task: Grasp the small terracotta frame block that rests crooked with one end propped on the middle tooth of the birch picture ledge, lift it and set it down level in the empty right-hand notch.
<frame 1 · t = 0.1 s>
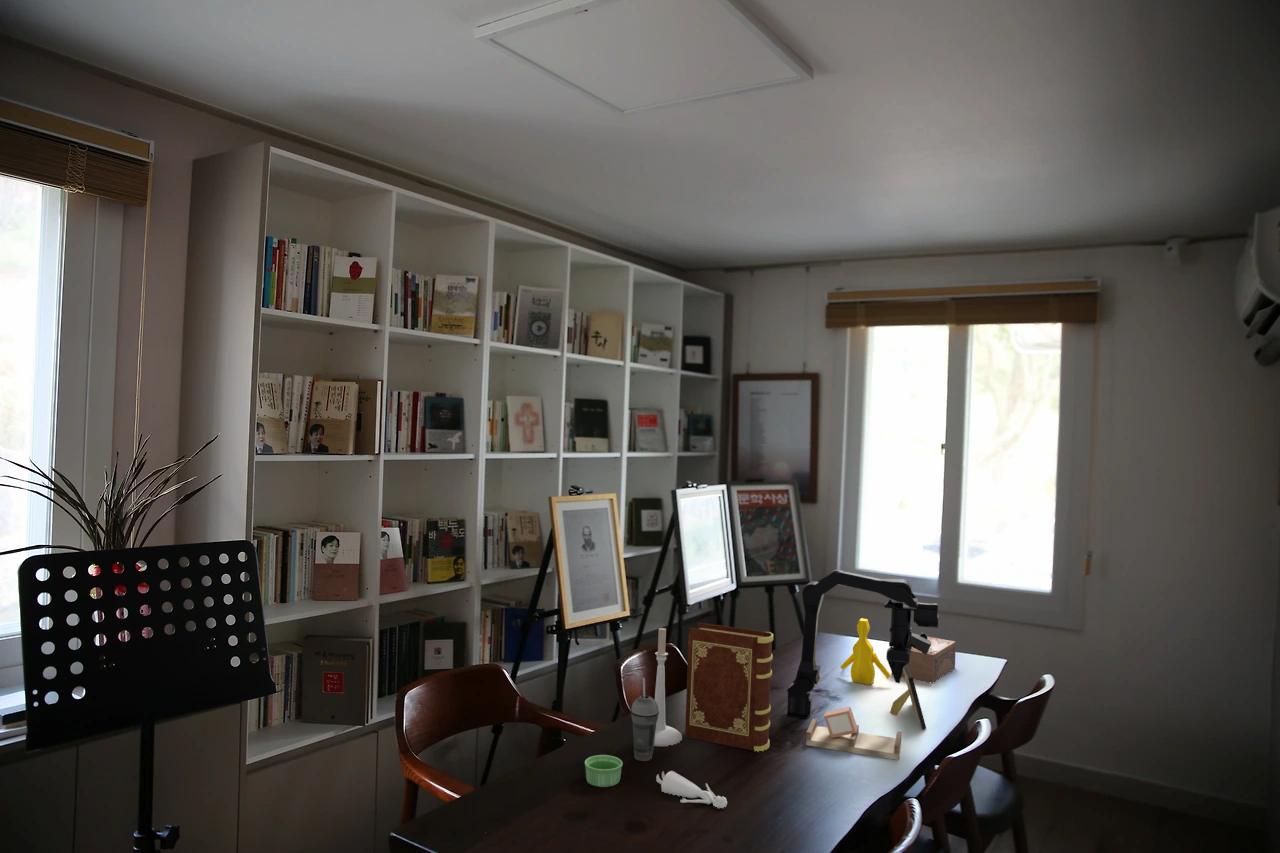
hand: (898, 678, 241), 15 cm above the table, fingers open, 9 cm apart
tissue box cover: (923, 672, 303), on the table
picture frame: (905, 716, 254), on the table
decorative book: (728, 741, 227), on the table
woman figurine: (691, 799, 191), on the table
ledge: (853, 744, 228), on the table
beverage cup: (643, 758, 214), on the table
frame block: (844, 733, 229), point 3 cm above the table, tilted 21°, touching ledge
ramekin: (603, 781, 199), on the table
candlestick: (658, 738, 228), on the table
figure statuette: (863, 683, 286), on the table
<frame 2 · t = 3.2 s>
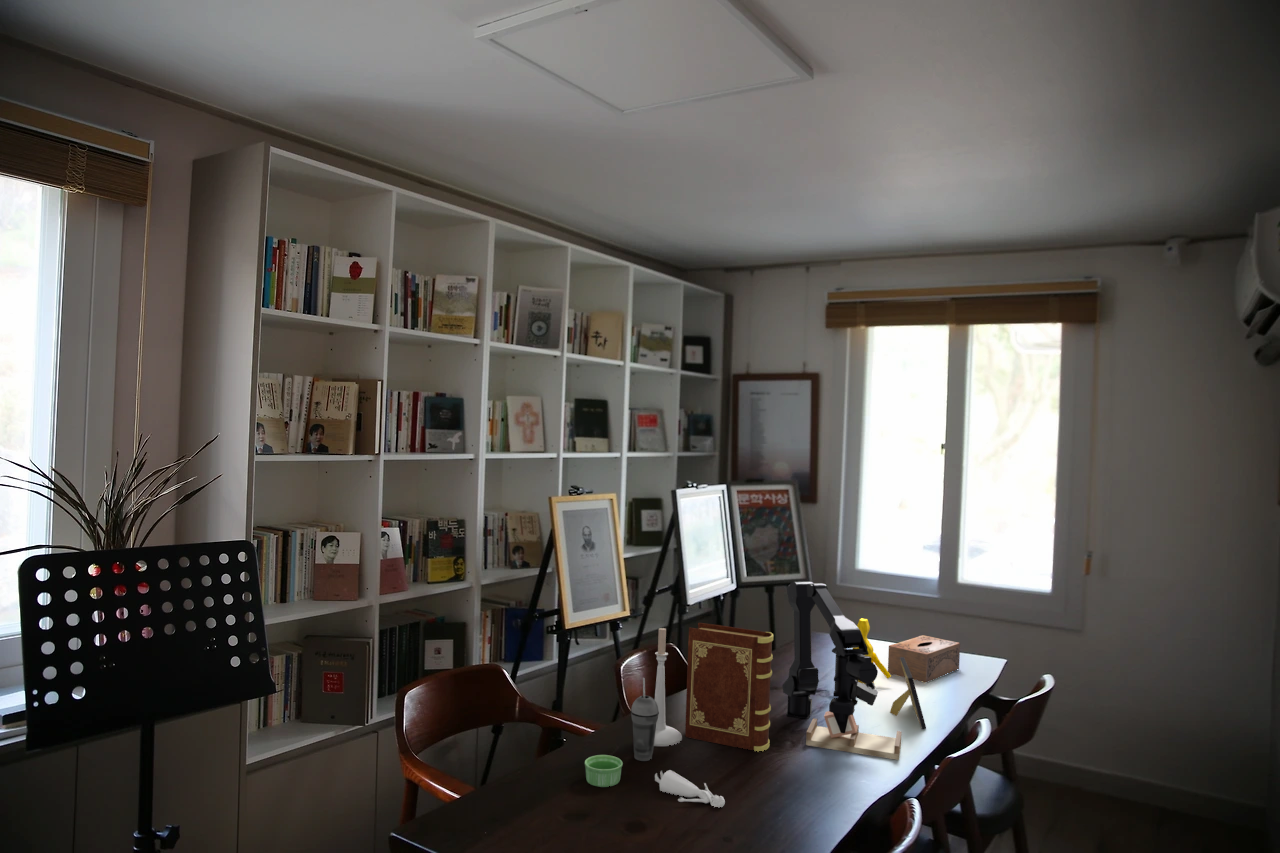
hand: (843, 730, 229), 4 cm above the table, fingers closed on frame block, 4 cm apart
frame block: (844, 733, 229), point 3 cm above the table, tilted 21°, touching gripper, ledge
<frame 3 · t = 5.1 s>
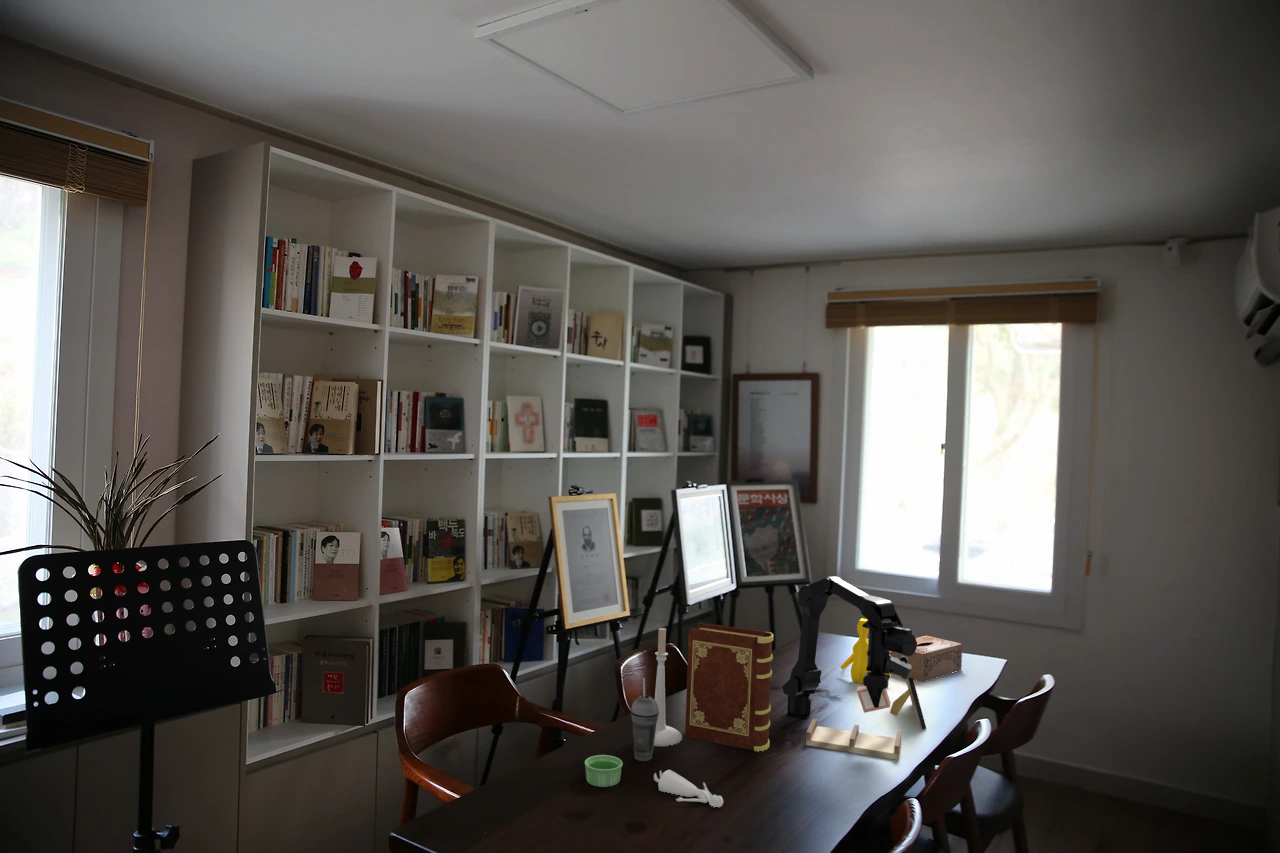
hand: (876, 705, 226), 12 cm above the table, fingers closed on frame block, 4 cm apart
frame block: (877, 707, 226), point 11 cm above the table, tilted 20°, touching gripper
when the fingers open (4 cm above the table, at t = 7.1 s): frame block drops 2 cm, resting on ledge.
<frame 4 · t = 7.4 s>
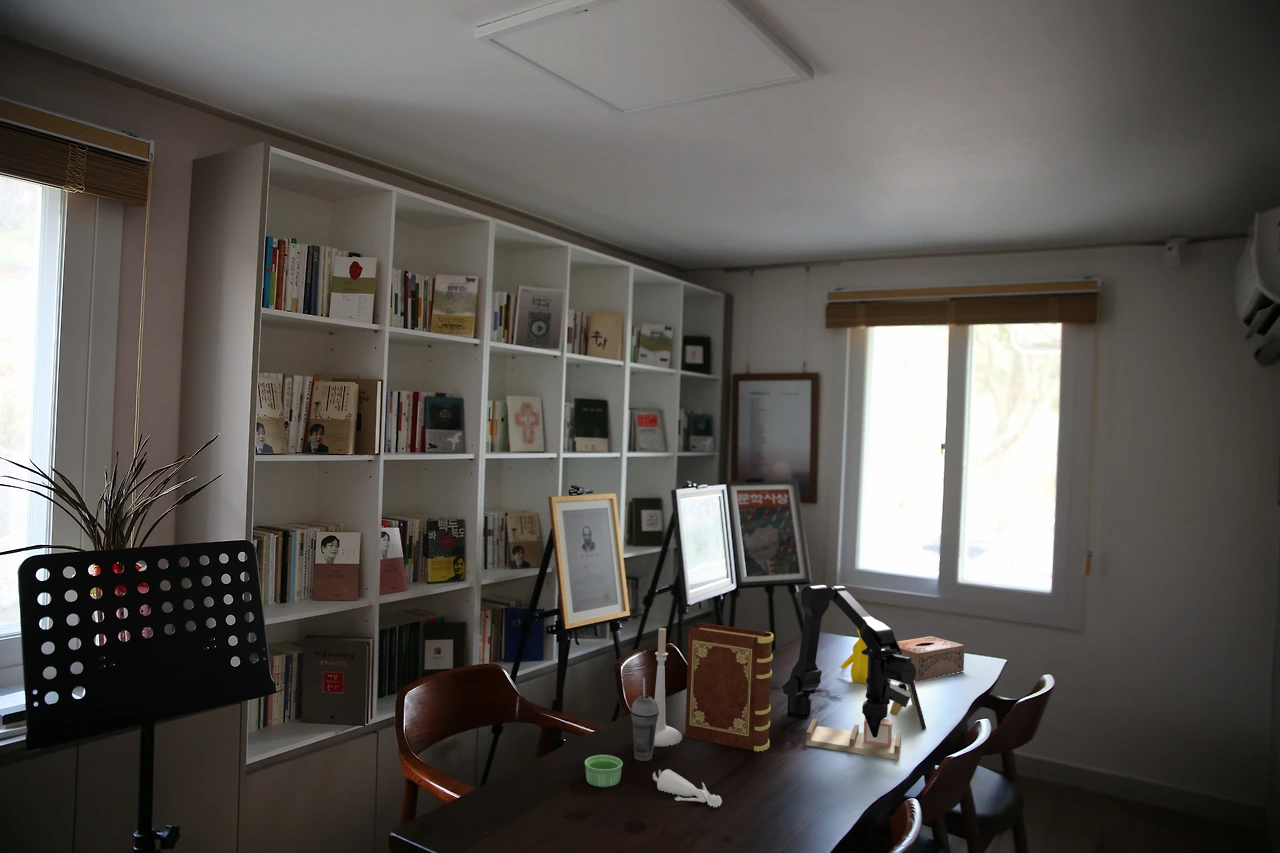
hand: (876, 732, 226), 4 cm above the table, fingers open, 8 cm apart
frame block: (877, 742, 226), point 1 cm above the table, touching ledge
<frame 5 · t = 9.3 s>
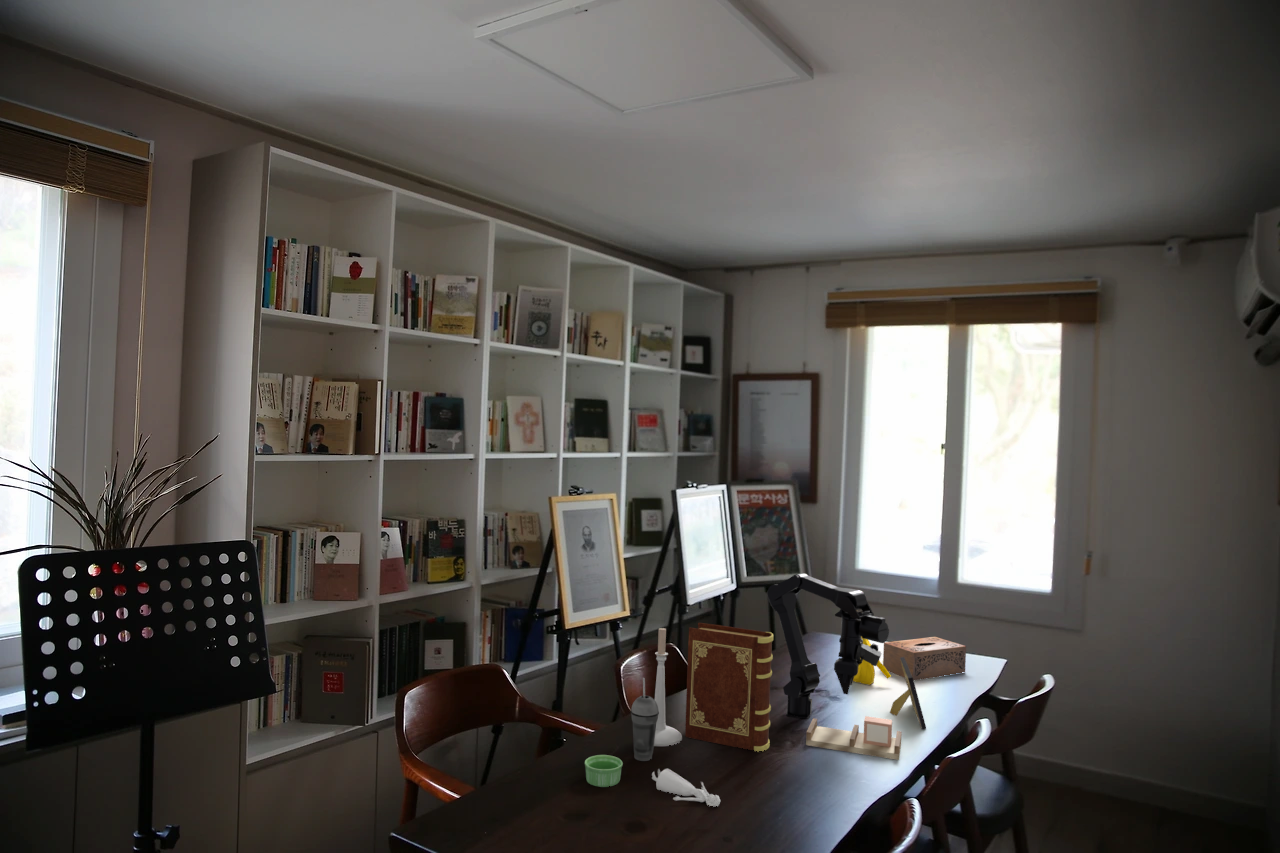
hand: (847, 689, 239), 12 cm above the table, fingers open, 9 cm apart
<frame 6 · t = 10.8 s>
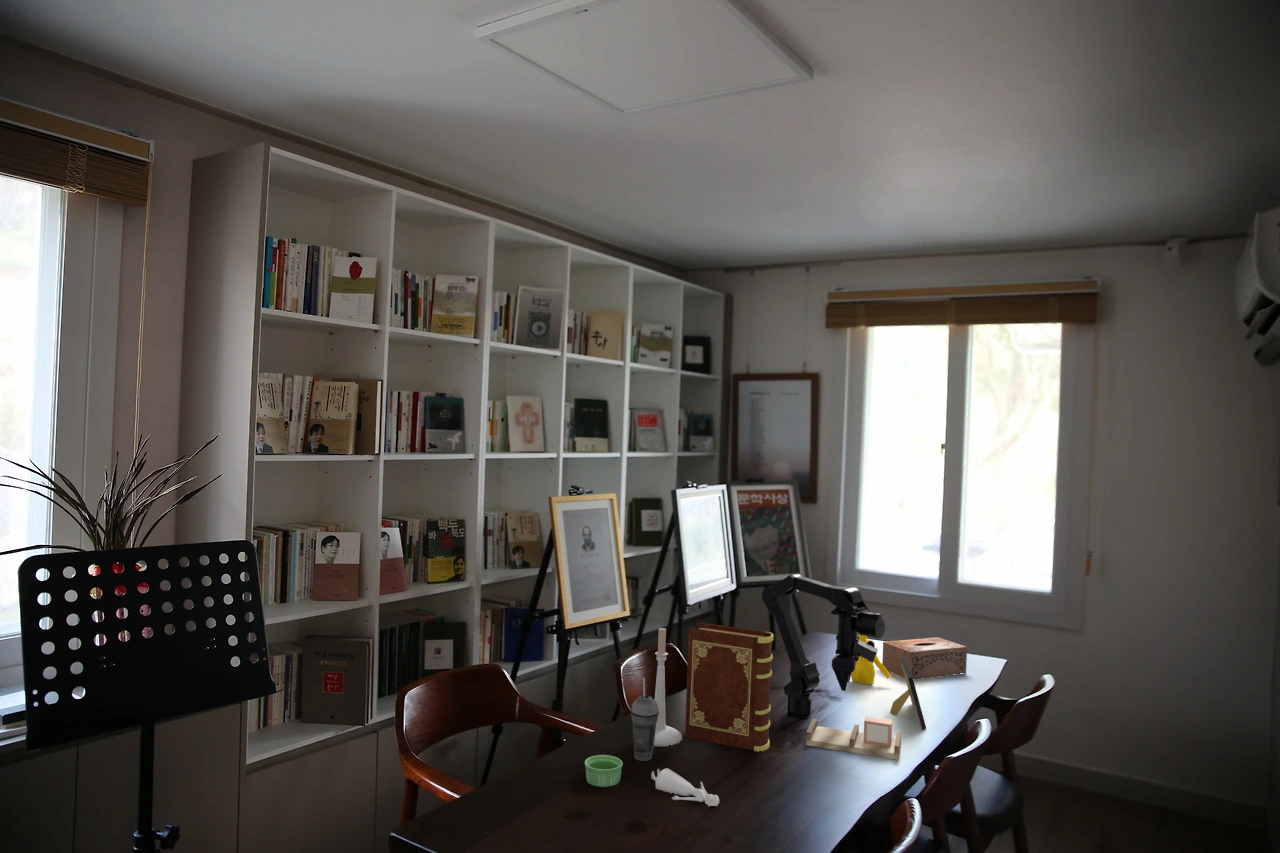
hand: (845, 686, 240), 12 cm above the table, fingers open, 9 cm apart
at the end: frame block inside the target area (0.4 cm from its centre), point 1.5 cm above the table; frame block tilted 0°; the gripper is holding nothing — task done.
